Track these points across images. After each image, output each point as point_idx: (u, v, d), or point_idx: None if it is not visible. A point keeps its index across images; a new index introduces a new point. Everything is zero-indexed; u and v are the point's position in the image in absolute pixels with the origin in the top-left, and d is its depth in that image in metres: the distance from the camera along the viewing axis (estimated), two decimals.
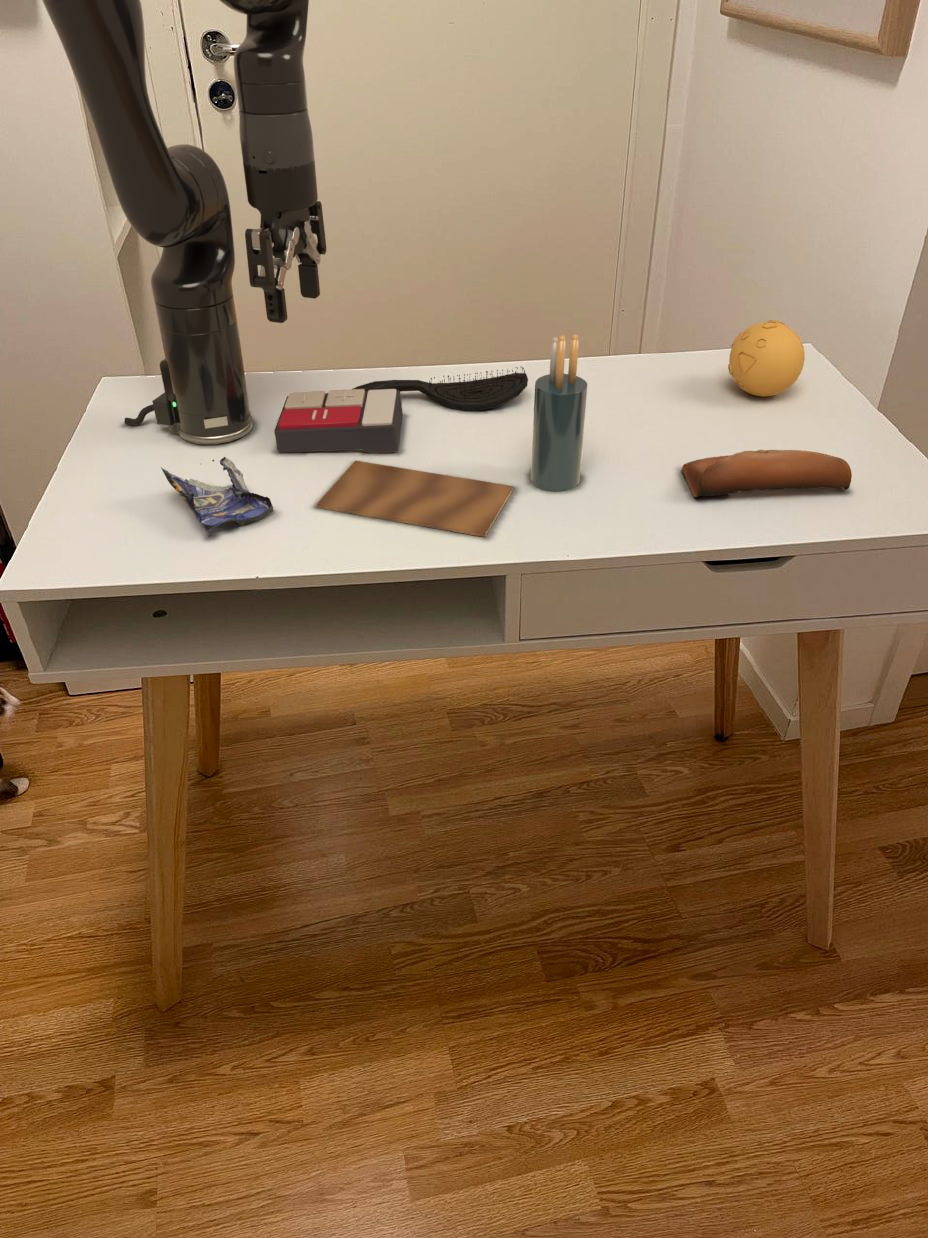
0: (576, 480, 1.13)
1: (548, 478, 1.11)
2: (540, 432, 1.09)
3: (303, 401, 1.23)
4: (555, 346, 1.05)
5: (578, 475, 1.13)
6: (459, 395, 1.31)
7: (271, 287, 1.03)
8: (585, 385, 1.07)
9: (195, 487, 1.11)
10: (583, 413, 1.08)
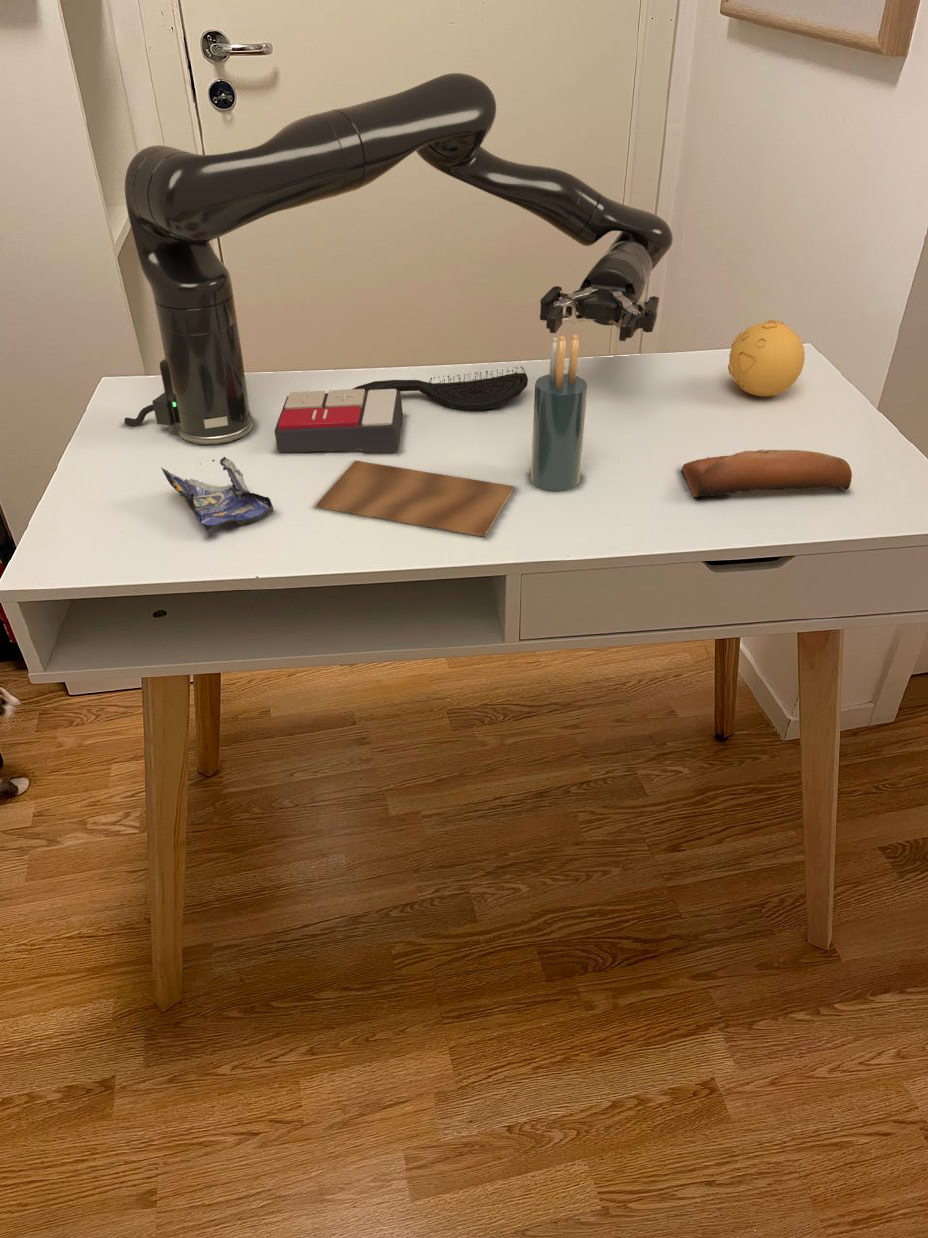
0: (576, 480, 1.13)
1: (548, 478, 1.11)
2: (540, 432, 1.09)
3: (303, 401, 1.23)
4: (555, 346, 1.05)
5: (578, 475, 1.13)
6: (459, 395, 1.31)
7: (542, 300, 1.20)
8: (585, 385, 1.07)
9: (195, 487, 1.11)
10: (583, 413, 1.08)
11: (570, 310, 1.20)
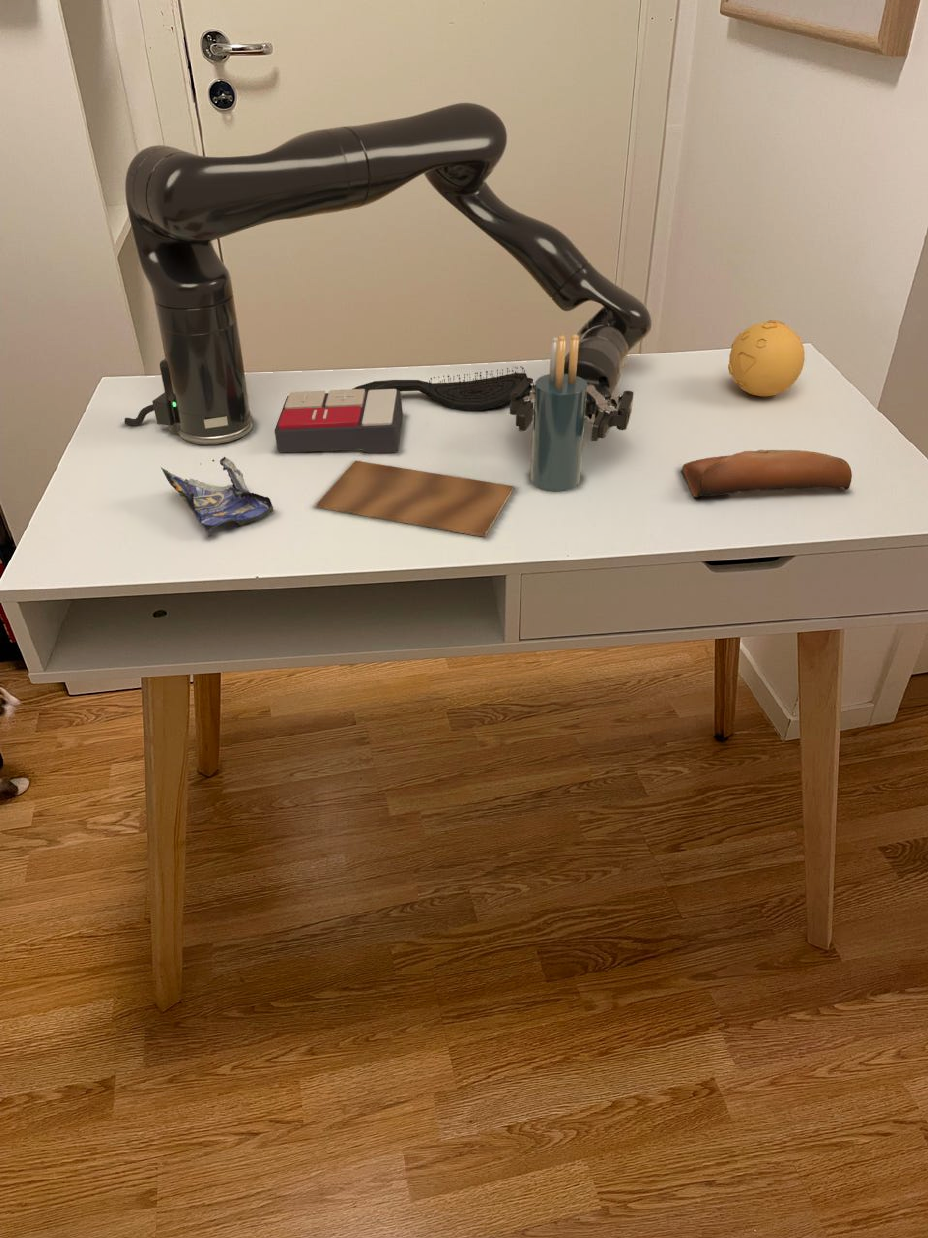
0: (576, 480, 1.13)
1: (548, 478, 1.11)
2: (540, 432, 1.09)
3: (303, 401, 1.23)
4: (555, 346, 1.05)
5: (578, 475, 1.13)
6: (459, 395, 1.31)
7: (511, 395, 1.15)
8: (585, 385, 1.07)
9: (195, 487, 1.11)
10: (583, 413, 1.08)
11: None
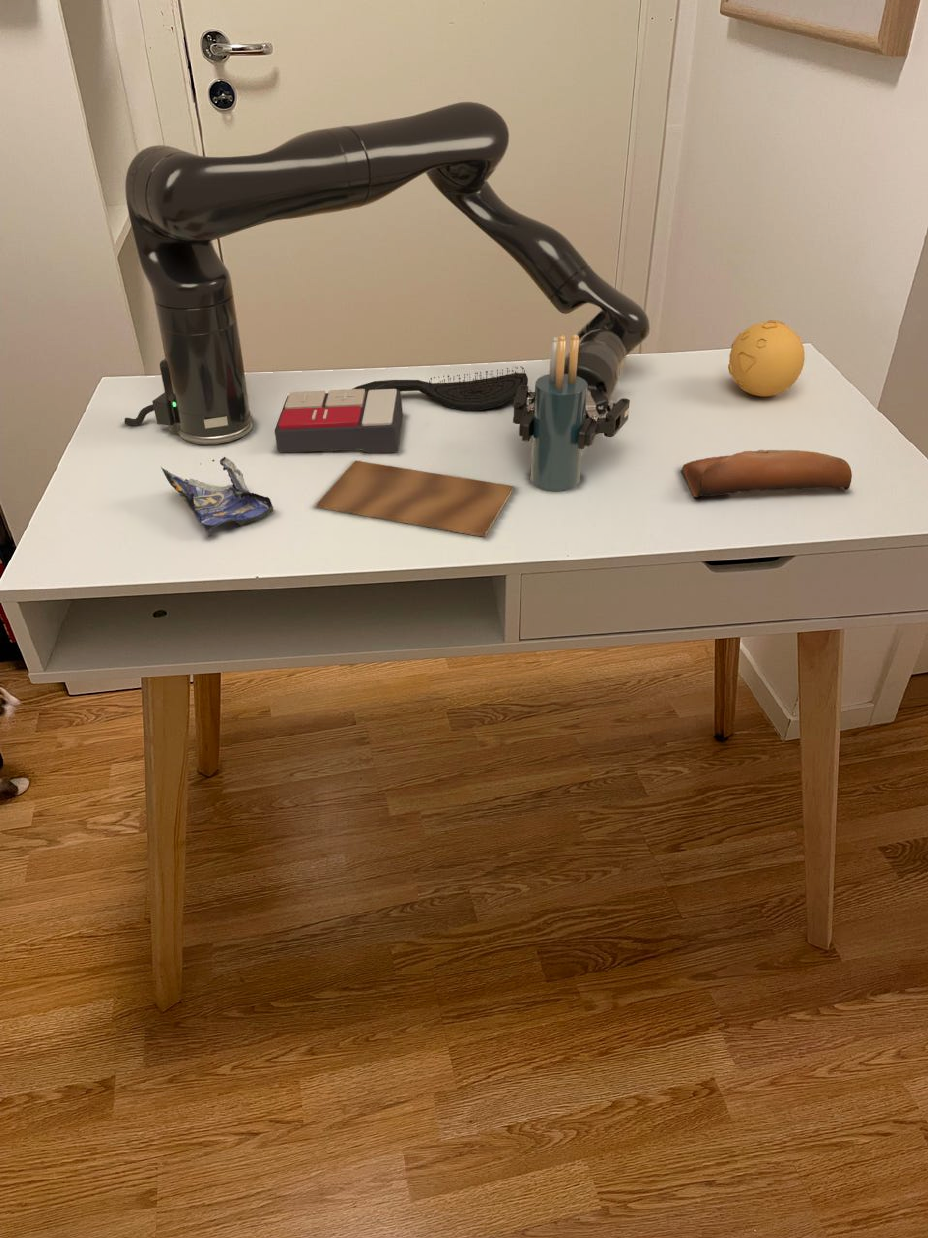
0: (575, 480, 1.13)
1: (548, 478, 1.11)
2: (540, 432, 1.09)
3: (303, 401, 1.23)
4: (555, 346, 1.05)
5: (578, 475, 1.13)
6: (459, 395, 1.31)
7: (515, 404, 1.13)
8: (585, 385, 1.07)
9: (195, 487, 1.11)
10: (583, 413, 1.08)
11: None
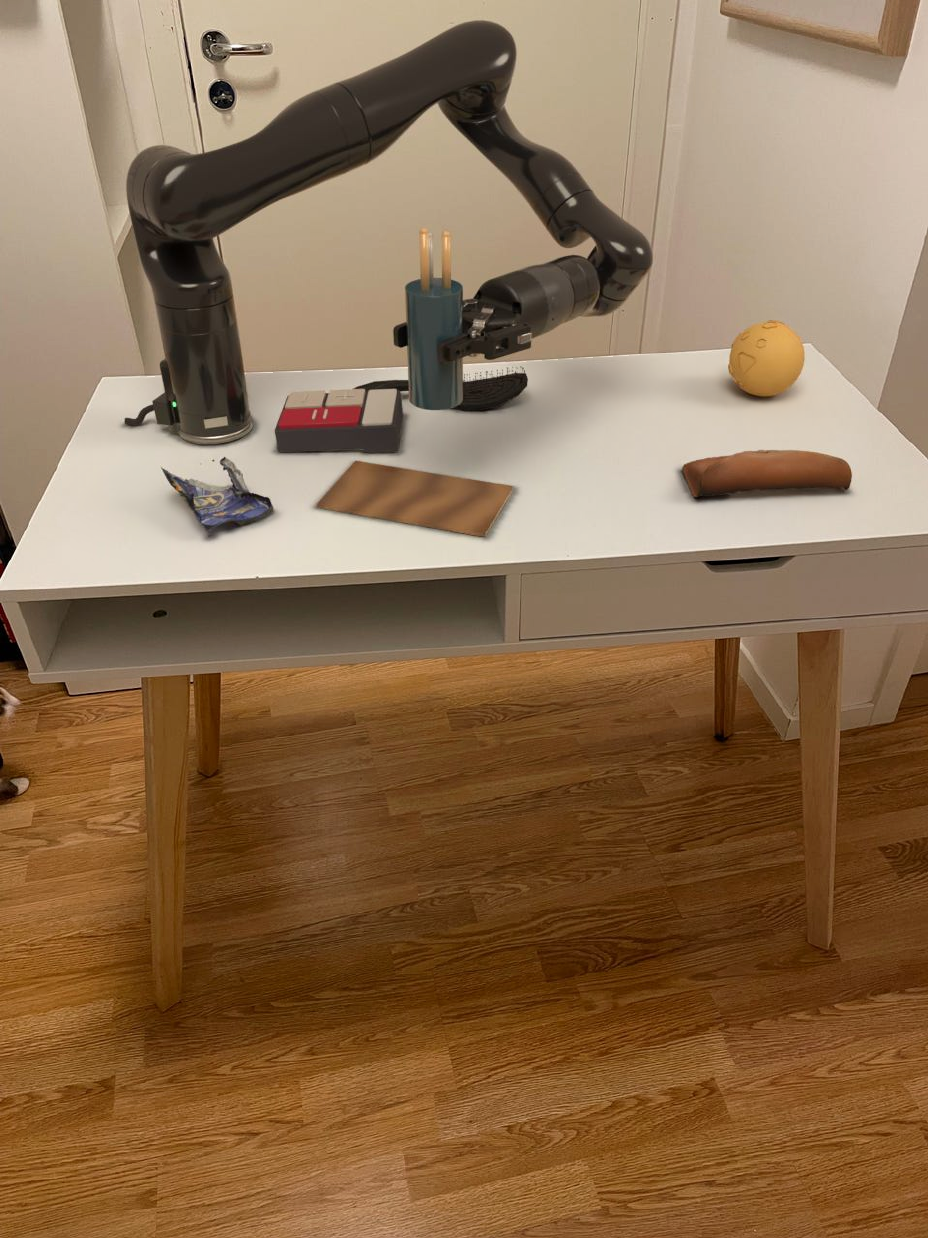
0: (447, 402, 1.01)
1: (415, 392, 1.01)
2: (407, 338, 0.99)
3: (303, 401, 1.23)
4: None
5: (453, 397, 1.01)
6: None
7: None
8: (455, 292, 0.95)
9: (195, 487, 1.11)
10: (451, 324, 0.96)
11: None
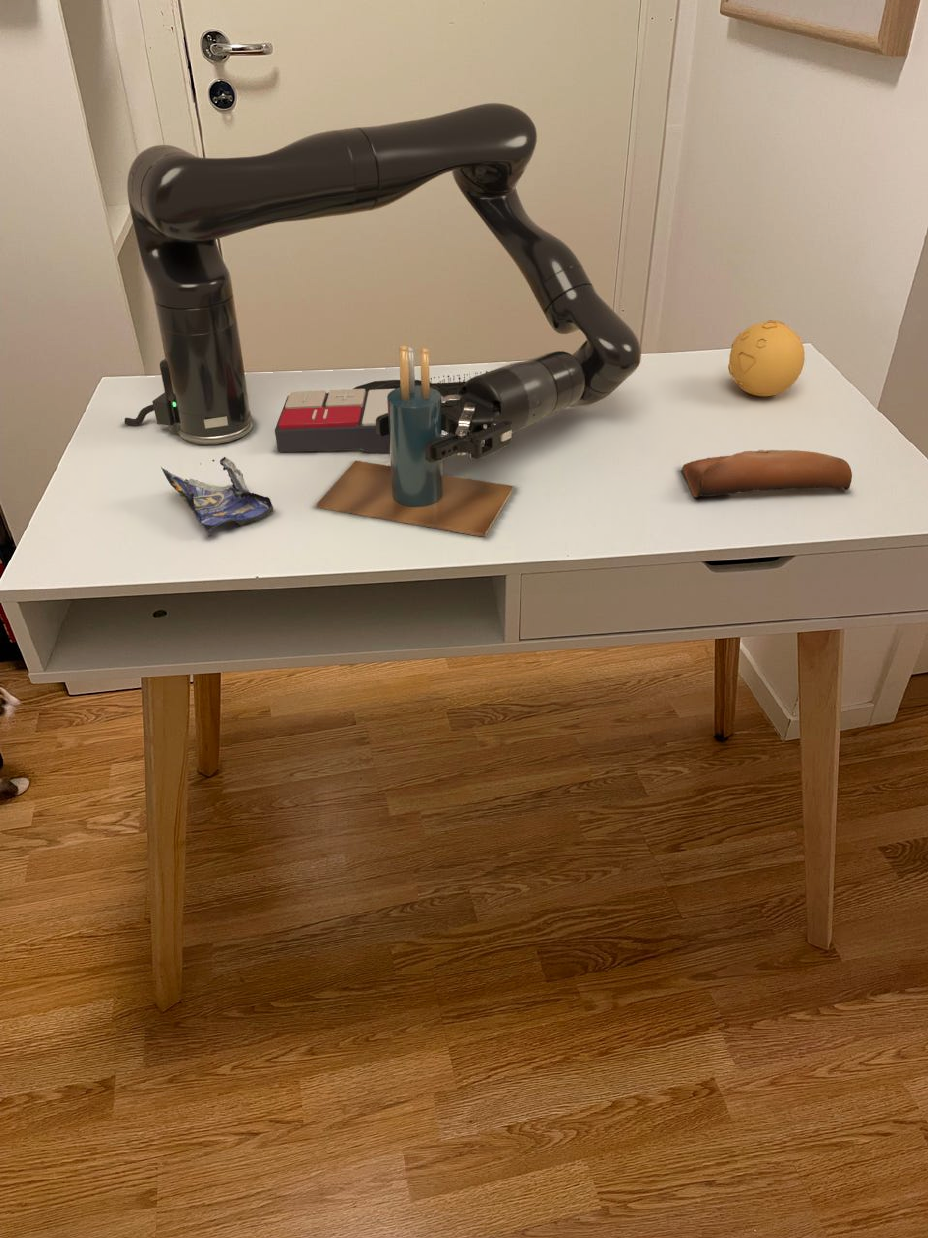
0: (425, 500, 1.08)
1: (395, 489, 1.08)
2: (389, 441, 1.06)
3: (304, 401, 1.23)
4: (408, 356, 1.01)
5: (431, 495, 1.08)
6: None
7: None
8: (432, 403, 1.02)
9: (195, 487, 1.11)
10: (428, 431, 1.03)
11: None
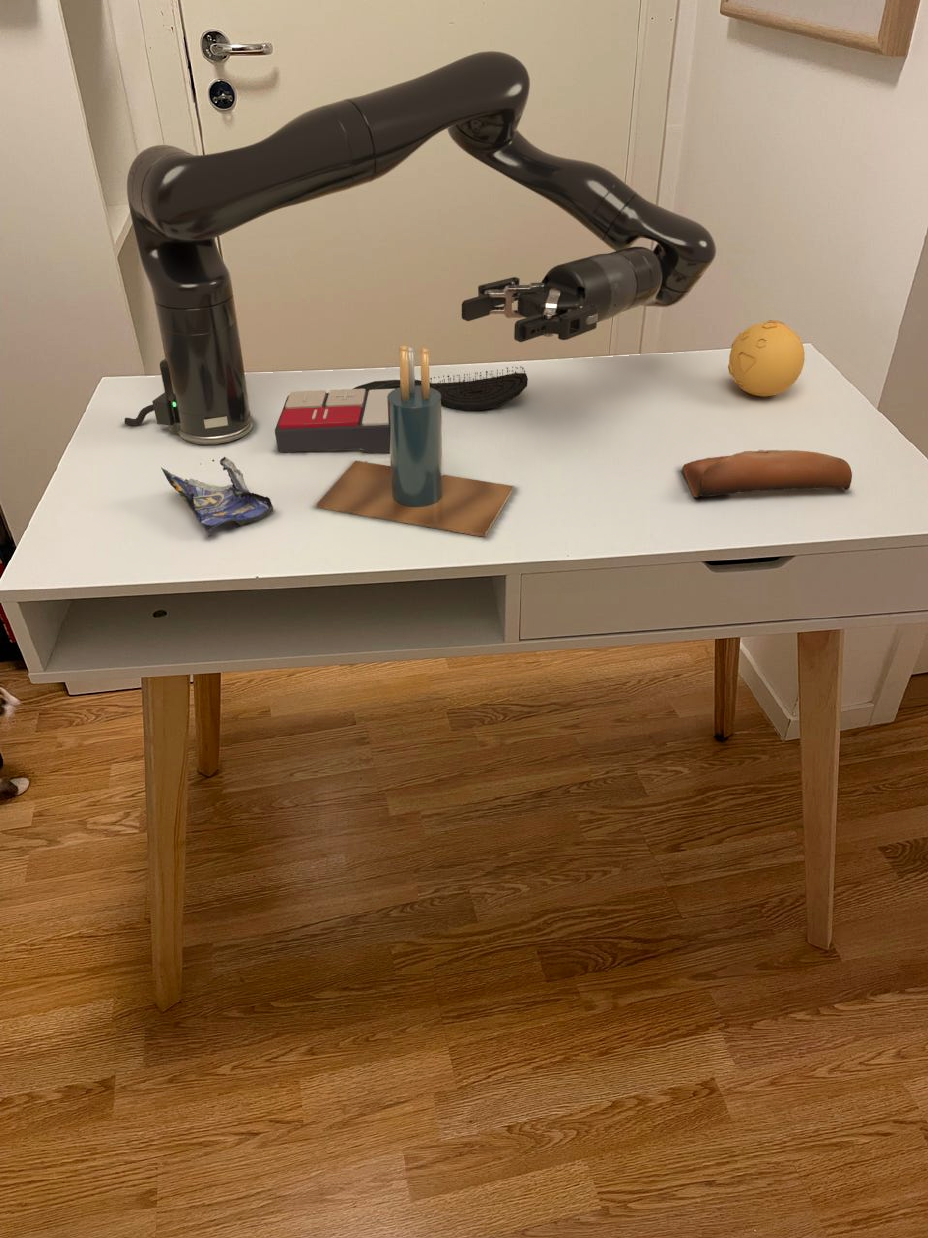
0: (425, 500, 1.08)
1: (395, 489, 1.08)
2: (389, 441, 1.06)
3: (304, 401, 1.23)
4: (408, 356, 1.01)
5: (431, 495, 1.08)
6: (459, 395, 1.31)
7: (479, 286, 1.12)
8: (432, 403, 1.02)
9: (195, 487, 1.11)
10: (428, 431, 1.03)
11: (505, 302, 1.11)
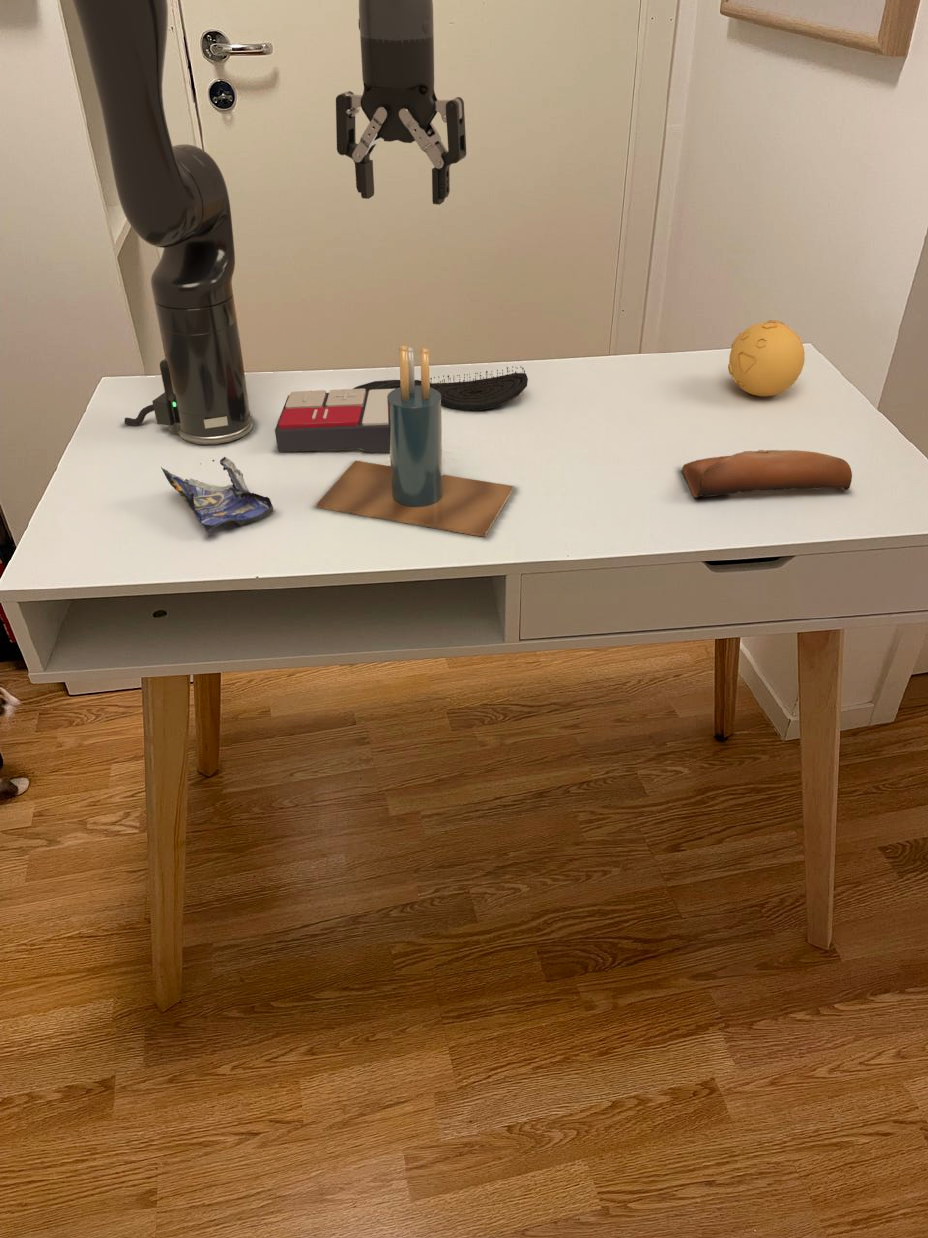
0: (425, 500, 1.08)
1: (395, 489, 1.08)
2: (389, 441, 1.06)
3: (304, 400, 1.23)
4: (408, 356, 1.01)
5: (431, 495, 1.08)
6: (459, 395, 1.31)
7: (339, 152, 1.06)
8: (432, 403, 1.02)
9: (195, 487, 1.11)
10: (428, 431, 1.03)
11: None
